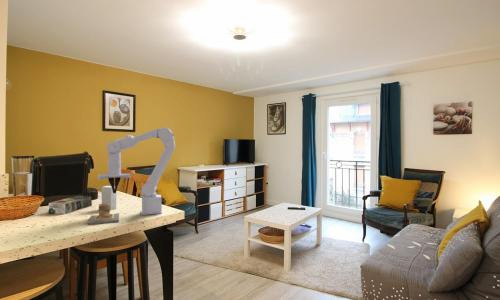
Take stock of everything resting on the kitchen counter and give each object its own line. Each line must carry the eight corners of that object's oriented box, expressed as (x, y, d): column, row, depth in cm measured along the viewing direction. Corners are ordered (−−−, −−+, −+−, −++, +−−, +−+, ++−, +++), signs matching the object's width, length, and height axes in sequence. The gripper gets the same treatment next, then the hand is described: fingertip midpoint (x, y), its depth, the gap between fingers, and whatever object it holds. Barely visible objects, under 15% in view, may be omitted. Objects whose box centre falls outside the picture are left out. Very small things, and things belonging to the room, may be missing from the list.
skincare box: (116, 208, 152) (116, 186, 151) (110, 210, 148) (110, 187, 147) (107, 207, 154) (107, 185, 153) (101, 209, 149) (101, 186, 149)
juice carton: (63, 215, 138) (63, 202, 138) (45, 214, 139) (45, 202, 139) (92, 206, 158) (92, 195, 158) (76, 205, 159) (76, 194, 159)
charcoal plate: (119, 215, 138) (119, 212, 138) (118, 222, 127) (118, 218, 127) (90, 217, 133) (90, 214, 133) (88, 224, 122) (87, 221, 122)
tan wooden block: (110, 216, 133) (110, 203, 133) (109, 218, 129) (109, 205, 129) (99, 216, 131) (99, 204, 131) (98, 219, 127) (98, 206, 127)
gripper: (130, 164, 147) (130, 190, 147) (98, 165, 141) (98, 192, 141) (130, 165, 140) (130, 193, 141) (97, 166, 134) (97, 195, 135)
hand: (114, 192), depth 141 cm, fingers closed
